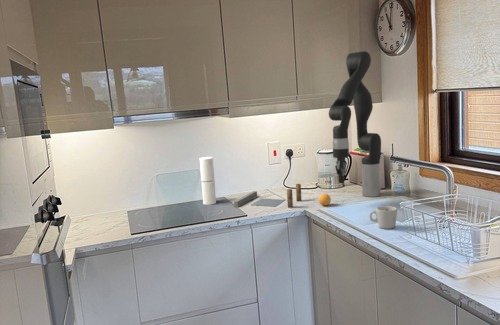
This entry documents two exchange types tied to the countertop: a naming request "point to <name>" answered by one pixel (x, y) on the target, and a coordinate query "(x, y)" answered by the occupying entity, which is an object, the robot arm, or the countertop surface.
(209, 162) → the cylindrical container
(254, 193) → the stopper wall
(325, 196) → the ball
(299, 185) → the post
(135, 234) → the countertop surface
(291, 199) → the post
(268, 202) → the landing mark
